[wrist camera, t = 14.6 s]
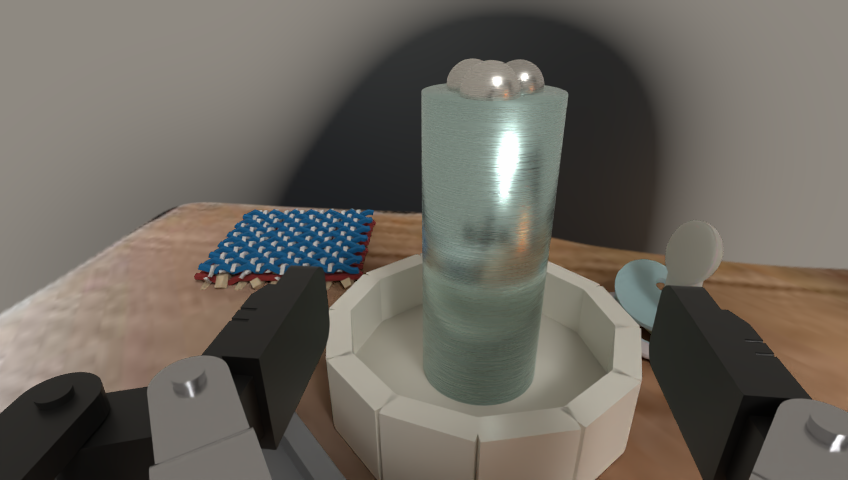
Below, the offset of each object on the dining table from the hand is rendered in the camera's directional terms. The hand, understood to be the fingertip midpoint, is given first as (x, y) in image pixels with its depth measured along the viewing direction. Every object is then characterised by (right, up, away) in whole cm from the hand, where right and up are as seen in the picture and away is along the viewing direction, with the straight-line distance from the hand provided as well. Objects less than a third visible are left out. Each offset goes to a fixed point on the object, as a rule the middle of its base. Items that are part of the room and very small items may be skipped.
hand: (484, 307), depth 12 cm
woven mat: (-11, 0, +23) cm, 26 cm away
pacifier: (+11, -3, +15) cm, 19 cm away
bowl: (+1, -5, +11) cm, 12 cm away
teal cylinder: (+1, -4, +10) cm, 11 cm away
